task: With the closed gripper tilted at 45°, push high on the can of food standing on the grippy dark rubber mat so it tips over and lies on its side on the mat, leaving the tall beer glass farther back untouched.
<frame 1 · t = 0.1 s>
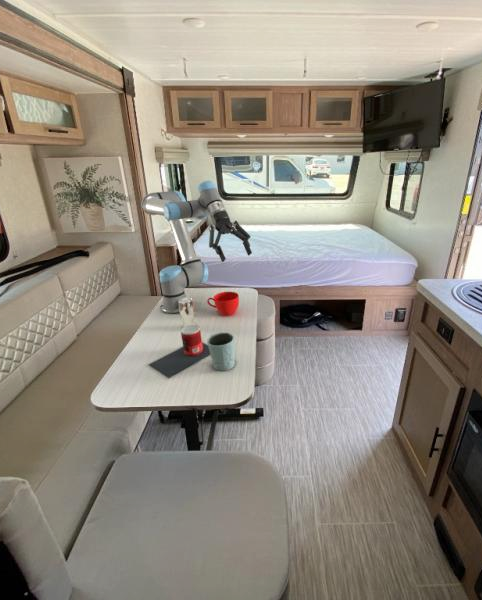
hand: (237, 257, 141), 36 cm above the table, tool tilted 35°, fingers open, 13 cm apart
ceramic cup: (224, 313, 173), on the table
beer glass: (189, 328, 159), on the table
mat: (184, 357, 135), on the table
canned food: (193, 351, 138), resting on mat
pale teal tumbler: (223, 365, 129), on the table
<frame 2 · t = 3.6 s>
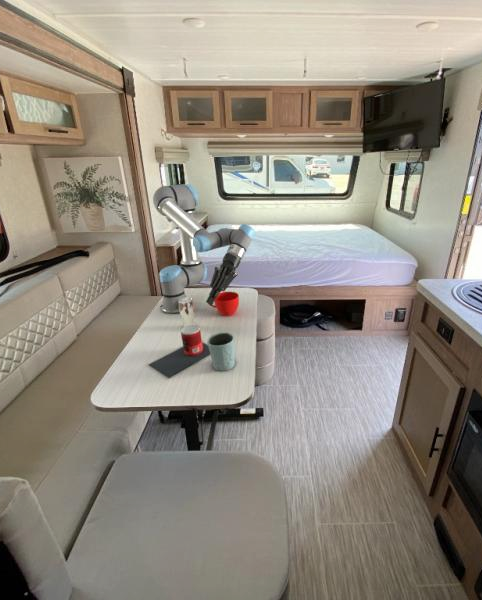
hand: (209, 303, 138), 19 cm above the table, tool tilted 45°, fingers closed
nothing on the table moved.
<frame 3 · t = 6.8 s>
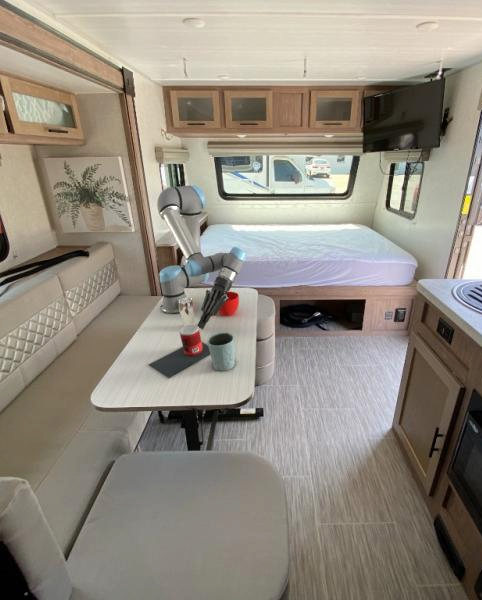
hand: (199, 327, 138), 10 cm above the table, tool tilted 45°, fingers closed
canned food: (193, 351, 138), resting on mat, touching gripper
everything else where it was.
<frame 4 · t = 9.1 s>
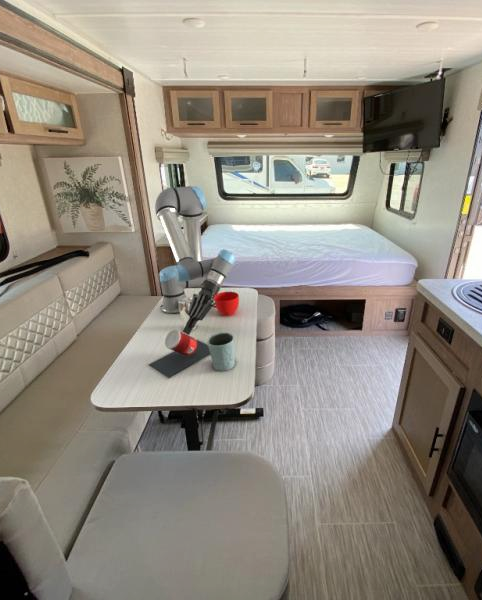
hand: (185, 333, 132), 11 cm above the table, tool tilted 45°, fingers closed
canned food: (190, 347, 136), point 3 cm above the table, touching gripper, mat
everything else where it was.
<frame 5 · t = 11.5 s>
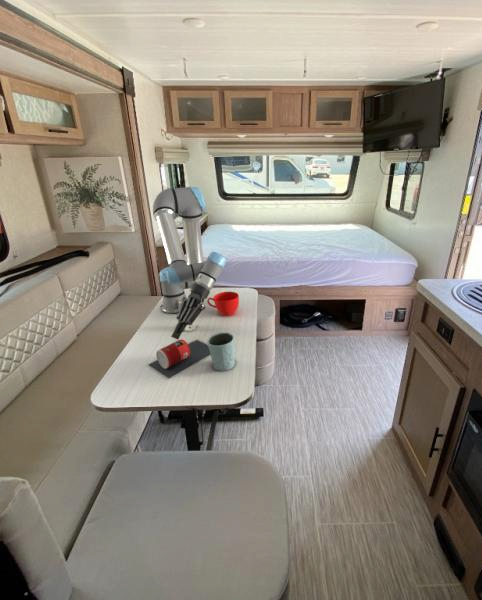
hand: (174, 338, 129), 11 cm above the table, tool tilted 45°, fingers closed
canned food: (185, 347, 134), point 4 cm above the table, touching mat
everything else where it was.
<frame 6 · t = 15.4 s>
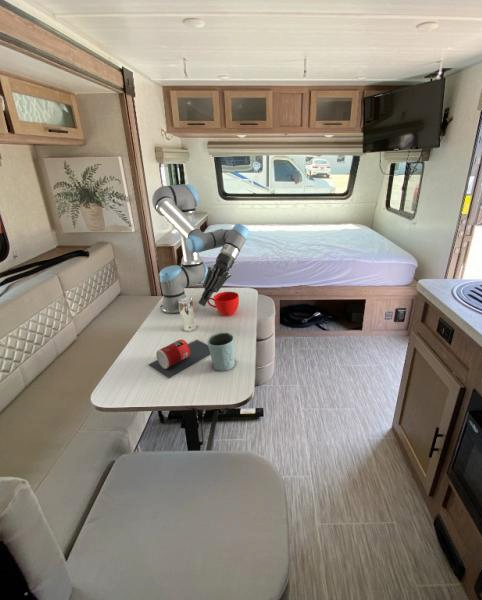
hand: (201, 304, 136), 20 cm above the table, tool tilted 45°, fingers closed
nothing on the table moved.
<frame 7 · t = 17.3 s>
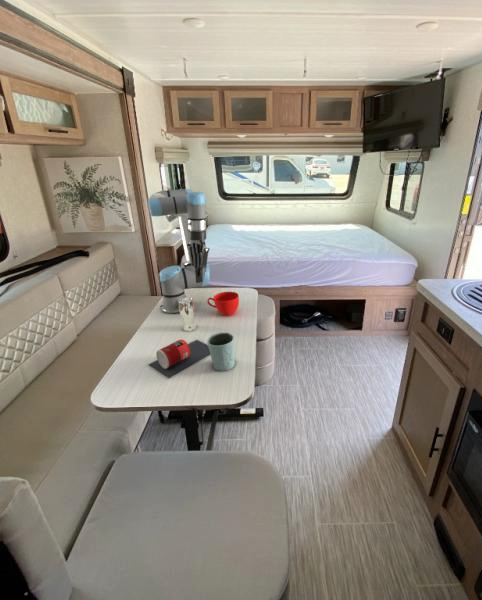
hand: (199, 282, 147), 25 cm above the table, tool pointing down, fingers closed
nothing on the table moved.
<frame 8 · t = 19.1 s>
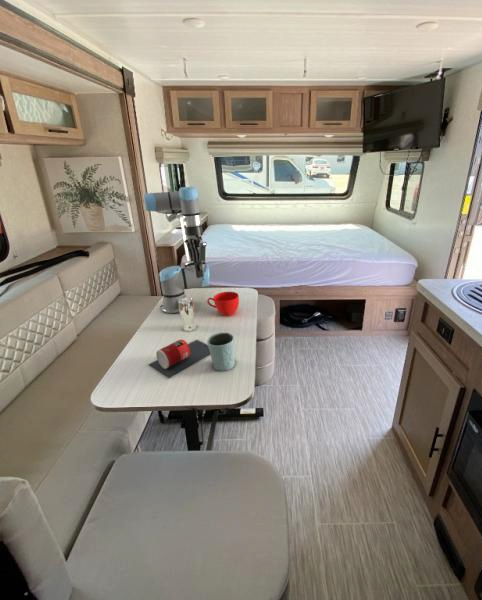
hand: (199, 276, 148), 26 cm above the table, tool pointing down, fingers closed
nothing on the table moved.
at the end: canned food tilted 90°; canned food inside the target area on the mat (5.3 cm from its centre), point 4.4 cm above the mat's base; canned food touching mat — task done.
